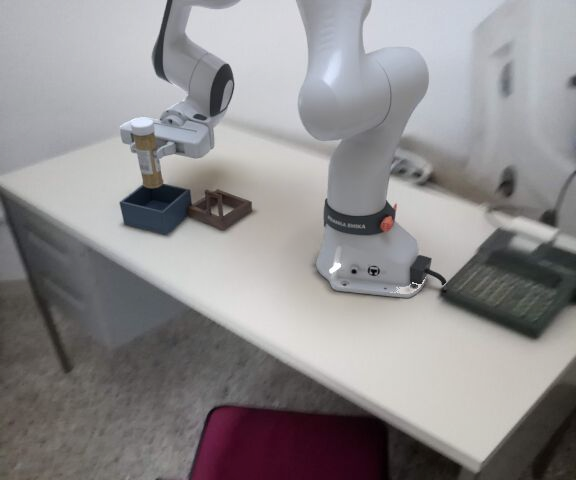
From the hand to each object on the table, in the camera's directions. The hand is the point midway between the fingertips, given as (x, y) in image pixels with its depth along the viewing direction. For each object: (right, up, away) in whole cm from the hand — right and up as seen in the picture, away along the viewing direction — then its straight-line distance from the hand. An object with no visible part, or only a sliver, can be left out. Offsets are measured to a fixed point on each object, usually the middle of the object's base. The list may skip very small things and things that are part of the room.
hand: (144, 152), depth 124 cm
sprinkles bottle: (0, -5, +6) cm, 8 cm away
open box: (0, -10, +12) cm, 16 cm away
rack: (+14, -9, +13) cm, 21 cm away
